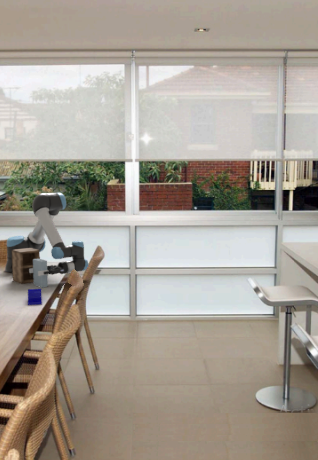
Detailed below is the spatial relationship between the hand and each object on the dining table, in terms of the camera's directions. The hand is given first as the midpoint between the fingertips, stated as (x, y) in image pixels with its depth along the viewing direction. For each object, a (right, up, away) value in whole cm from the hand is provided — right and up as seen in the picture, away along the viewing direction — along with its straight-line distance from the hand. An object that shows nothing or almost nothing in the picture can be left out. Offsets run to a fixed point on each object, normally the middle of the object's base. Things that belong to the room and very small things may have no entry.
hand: (33, 272), depth 361 cm
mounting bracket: (+7, -14, -32) cm, 36 cm away
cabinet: (-8, -7, +18) cm, 21 cm away
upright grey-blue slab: (+3, -9, +4) cm, 10 cm away
